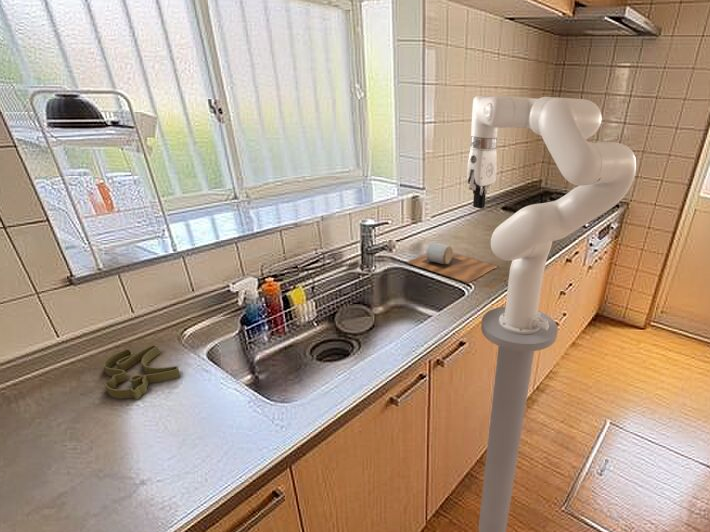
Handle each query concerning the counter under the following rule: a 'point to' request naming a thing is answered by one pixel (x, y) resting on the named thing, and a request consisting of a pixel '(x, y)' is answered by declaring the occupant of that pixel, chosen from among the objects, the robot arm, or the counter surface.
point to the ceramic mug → (439, 253)
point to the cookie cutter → (138, 381)
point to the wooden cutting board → (456, 267)
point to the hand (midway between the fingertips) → (478, 207)
